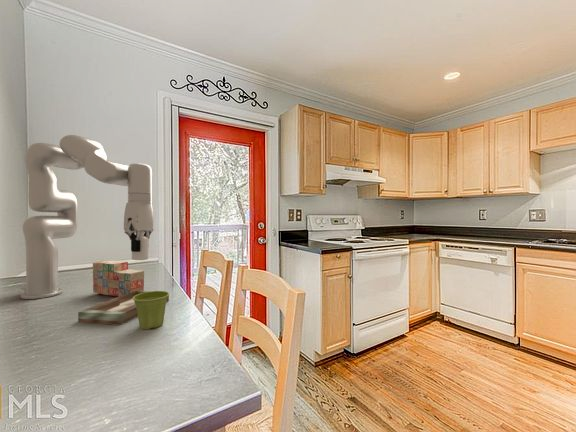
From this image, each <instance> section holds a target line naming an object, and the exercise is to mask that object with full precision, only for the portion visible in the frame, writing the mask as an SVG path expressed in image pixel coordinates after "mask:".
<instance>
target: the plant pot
mask: <svg viewBox="0 0 576 432" xmlns="http://www.w3.org/2000/svg"><path fill="white" fill-rule="evenodd" d="M150 291H151V292H145V293H140V294H137V295H135V296H134V297H133V300H134V302H135V305H136V308H137V314H138V316H137V320H138V325H139V328H140V329H142V330H150V329H152V328H153V329H154V328H155V329H156V328H159V327H161V326H163V325H164V321H165V314H166V313H165V312H166V305H167V302H168V301H167V298H168V296H169V297H170V292H169V291H165V290H153V291H152V290H150Z"/></svg>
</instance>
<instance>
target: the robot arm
mask: <svg viewBox="0 0 576 432" xmlns="http://www.w3.org/2000/svg"><path fill="white" fill-rule="evenodd" d="M24 154H25V156H24V161H25V167H26V170H27V174H28V193H27V194H28V206H29V208H30V210H32V211H34V212H38V213H57V215H35V216H34V215H33V216H31V217H28V218H26V220H25V219H24V222H23V224H22V233H23V236H24V239H25V240H24V242H25V250H26V251H25V258H26V259H25V260H26V261H25V266H26V267H25V268H26V269H25V271H26V272H25V274H26V275H25V277H26V279H25V281H26V282H25V283H24V285H21V286H20V291H21V290H22V291H24V293H22V294H20V298H21V299H23V300H37V299H44V298H49V297H54V296H58V295H60V294H62V293H64V290H63V288H59V249H58V247H57V245H56V244H55V242H54V239H67V238H71V237H73V236H74V235H75V234H76V232H77V229H78V200H77V197H76V195H75V194H74V193H72V192H71V191H69V190H63V189H58V179H57V176H56V174H55V172H54V171H53V169H52V168H51V167H54V168H60V169H67V170H72V171H74V170H75V171H76V170H81V169H83V168H84V171H85V173H86V174H87V175H89V176H90V177H92V178H94V179H95V180H97V181H99V182H101V183H104V184H107V185H108V184H109V185H117V186H121V187H122V186H123V187H127V202H126V203H125V208H124V215H123V230H124V234H126V235H127V236H128V237H129V240H130V251H131V253H132V252H140V240H139V235H140V231H144V236H145V237H147V238H148V240H149V239H150V236H151V234H152V233H153V232H154V210H153V205H152V203H153V200H152V199H153V197H152V196H153V195H152V194H153V188H152V187H153V180H152V179H153V171H152V167H151V166H150V165H148V164H146V163H130V164H129V165H125V164H121V163H117V162H111V161H108V160H107V153H106V151H105V150H104V147H103V145H102V144H101V143H100V142H98V141H96V140H94V139H91V138H87V137H83V136H81V135H76V134H67V135H65V136H63V137H61V139H60V140H59V145H56V144H52V143H48V142H35V143H32V144H31V145H29V147H28V148H27V150H26V152H25V153H24Z"/></svg>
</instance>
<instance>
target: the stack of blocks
mask: <svg viewBox="0 0 576 432" xmlns="http://www.w3.org/2000/svg"><path fill="white" fill-rule="evenodd" d="M92 284H93V286H92V289H93V290H92V291H93V293H94V294H99V295H105V296H114V297H120V296H122V295H125V294H128V293H131V292H135V291H145V287H144V286H145V271H144V270H139V269H138V270H137V269H131V268H130V269H129V261H123V260H121V261H120V260H102V261H95V262H92Z"/></svg>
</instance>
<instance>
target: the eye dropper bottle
mask: <svg viewBox="0 0 576 432" xmlns="http://www.w3.org/2000/svg"><path fill="white" fill-rule="evenodd" d="M144 233H145V232H144V231H140V235H139V240H140V252H132V251H131V260H134V261H145V260H149V239H148V238H147V237H145V236H144Z"/></svg>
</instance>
